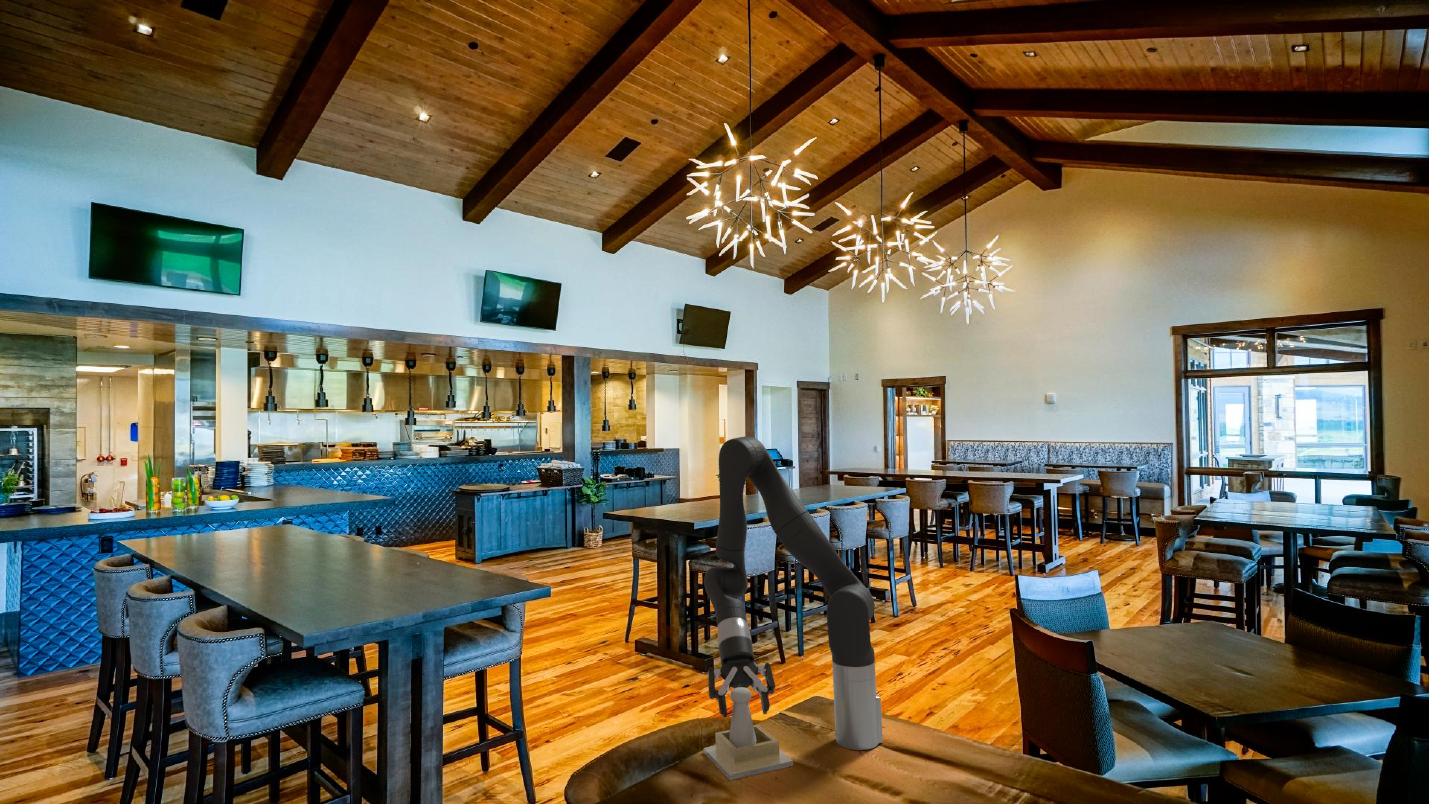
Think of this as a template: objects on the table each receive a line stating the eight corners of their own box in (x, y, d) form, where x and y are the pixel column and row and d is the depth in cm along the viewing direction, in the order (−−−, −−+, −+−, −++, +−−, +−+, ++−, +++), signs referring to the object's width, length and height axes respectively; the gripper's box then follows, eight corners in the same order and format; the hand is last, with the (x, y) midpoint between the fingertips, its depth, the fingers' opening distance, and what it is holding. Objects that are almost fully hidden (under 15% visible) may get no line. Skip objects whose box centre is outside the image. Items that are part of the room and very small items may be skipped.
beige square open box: (762, 740, 154) (761, 719, 155) (793, 765, 141) (792, 743, 142) (703, 752, 149) (703, 731, 149) (729, 780, 136) (729, 756, 136)
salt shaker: (754, 759, 142) (751, 694, 143) (726, 758, 144) (724, 693, 145) (758, 747, 148) (756, 685, 149) (732, 746, 149) (730, 684, 150)
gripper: (704, 636, 154) (713, 708, 142) (767, 632, 156) (781, 702, 144) (702, 654, 159) (710, 725, 147) (764, 650, 161) (776, 719, 149)
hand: (745, 714), depth 146 cm, fingers open, 8 cm apart
